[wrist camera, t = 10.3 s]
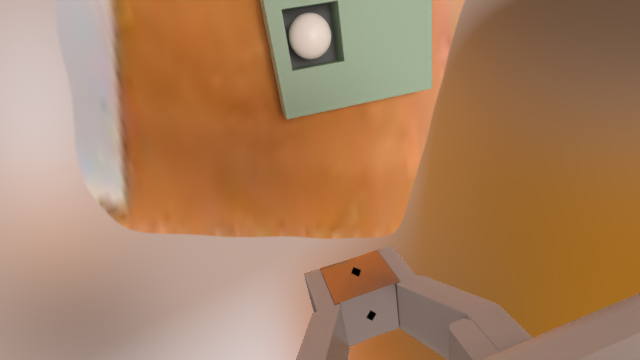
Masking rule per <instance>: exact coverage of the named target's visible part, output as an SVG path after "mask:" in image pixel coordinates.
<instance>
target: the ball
mask: <svg viewBox="0 0 640 360" xmlns="http://www.w3.org/2000/svg"><path fill="white" fill-rule="evenodd" d="M289 42H290V45H291V48H292V49H293V51H294V52H295V53H296V54H297V55H299V56H300V57H302V58H305V59H316V58H318V57H320V56H322V55H323V54H324V53H325V52H326V51H327V49H328V48H329V46H330V43H331V30H330V27H329V25H328V23H327V21H326V20H325V19H324V18H323V17H322V16H320V15H318V14H316V13H304V14H301V15H299V16H298V17H297V18H296V19H295V20H294V21H293V22H292V24H291V26H290V29H289Z"/></svg>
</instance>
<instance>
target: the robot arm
mask: <svg viewBox="0 0 640 360" xmlns="http://www.w3.org/2000/svg"><path fill="white" fill-rule="evenodd" d="M305 280H306V284H307V288H308V291H309V295H310V300H311V303H312V307H313V310H314V313H313V314H312V317H311V319H310V322H309V325H308V328H307V330H306V333H305V336H304V339H303V342H302V344H301V347H300V350H299V353H298V356H297V359H296V360H348V355H349V349H350V348H349V347H350V346H352V345H354V344H357V343H359V342H362V341H364V340H367V339H369V338H371V337H374V336H377V335H380V334H382V333H385V332H388V331H391V330H394V329H397V328H399V327H400V329H401V330H403V331H405V332H406V333H408V334H409V335H411V336H412V337H414V338H415V339H417V340H418V341H420V342H422V343H423V344H425V345H426V346H428V347H429V348H431V349H432V350H434V351H436V352H437V353H439V354H440V355H442V356H443V357H445V358H446V359H448V360H640V293H639V294H637V295H634V296H632V297H629V298H627V299H625V300H622V301H620V302H617V303H615V304H613V305H610V306H608V307H605V308H603V309H601V310H598V311H596V312H594V313H591V314H589V315H586V316H584V317H582V318H579V319H577V320H574V321H572V322H570V323H567V324H565V325H562V326H560V327H558V328H555V329H553V330H551V331H548V332H546V333H543V334H541V335H539V336H536V337H534V338H532V337H531V336H530V335H529V334H528V333H527V332H526V331H525V330H524V329H523V328H522V327H521V326H520V325H519V324H518V323H517V322H516V321H515V320H514V319H513V318H512V317H511V316H509V314H508V313H507V312H505V310H503V309H502V308H501V307H500V306H499V305H498V304H497V303H494V302H491V301H489V300H486V299H484V298H481V297H478V296H476V295H473V294H470V293H468V292H465V291H462V290H460V289H457V288H454V287H452V286H449V285H446V284H444V283H441V282H439V281H436V280H434V279H431V278H428V277H426V276H423V275H419V276H416V275H415V273H414V272H413V271H412V270H411V268H410V267H409V266H408V265H407V264H406V262H405V261H404V260H403V259H402V258H401V256H400V255H399V254H398V253H397V251H396V250H395V249H394V248H393V247H392V246H390V245H389V246H386V247H383V248H381V249H378V250H376V251H372V252H370V253H367V254H364V255H361V256H358V257H355V258H352V259H349V260H346V261H343V262H340V263H336V264H333V265H330V266H327V267H323V268H320V270H319V269H317V270H314V271H311V272H308V273H305Z"/></svg>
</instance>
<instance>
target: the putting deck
mask: <svg viewBox="0 0 640 360" xmlns="http://www.w3.org/2000/svg"><path fill="white" fill-rule="evenodd" d="M260 5H261V10H262V15H263V20H264V25H265V30H266V34H267V39H268V44H269V49H270V54H271V59H272V64H273V69H274V74H275V79H276V84H277V88H278V93H279V98H280V103H281V108H282V113H283V115H284V116H285V117H286V119H292V118H297V117H301V116H306V115H311V114H315V113H320V112H325V111H329V110H334V109H338V108H343V107H348V106H352V105H357V104H362V103H366V102H371V101H376V100H380V99H385V98H390V97H394V96H399V95H404V94H408V93H413V92H417V91H422V90H427V89H431V88H432V0H260ZM304 13H316V14H318V15H320V16H322V17H323V18H324V19H325V20H326V21H327V23H328V25H329V27H330V30H331V43H330V46H329V48H328V49H327V51H326V52H325V53H324V54H323V55H322V56H320V57H318V58H316V59H305V58H302V57H300V56H299V55H297V54H296V53H295V52H294V51H293V49H292V48H291V45H290V42H289V29H290V26H291V24H292V22H293V21H294V20H295V19H296V18H297V17H298V16H299V15H301V14H304Z"/></svg>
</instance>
